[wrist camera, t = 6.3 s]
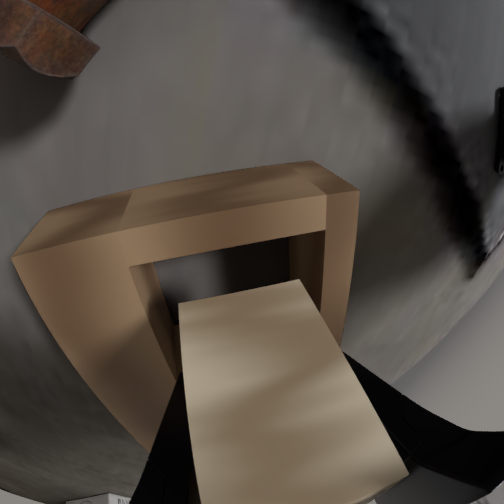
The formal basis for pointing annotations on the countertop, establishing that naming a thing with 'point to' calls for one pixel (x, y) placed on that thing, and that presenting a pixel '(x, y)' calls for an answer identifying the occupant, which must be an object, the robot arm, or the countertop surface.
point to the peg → (278, 404)
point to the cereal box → (102, 499)
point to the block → (171, 246)
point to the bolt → (48, 34)
